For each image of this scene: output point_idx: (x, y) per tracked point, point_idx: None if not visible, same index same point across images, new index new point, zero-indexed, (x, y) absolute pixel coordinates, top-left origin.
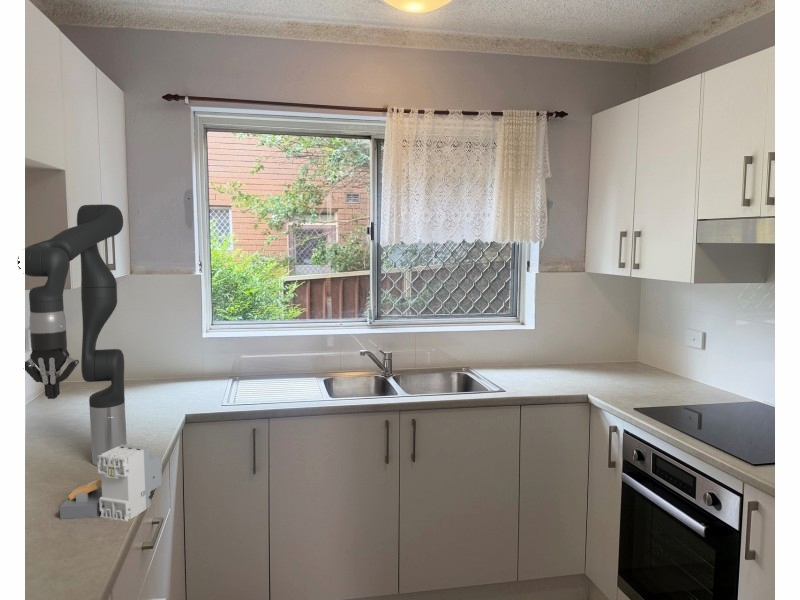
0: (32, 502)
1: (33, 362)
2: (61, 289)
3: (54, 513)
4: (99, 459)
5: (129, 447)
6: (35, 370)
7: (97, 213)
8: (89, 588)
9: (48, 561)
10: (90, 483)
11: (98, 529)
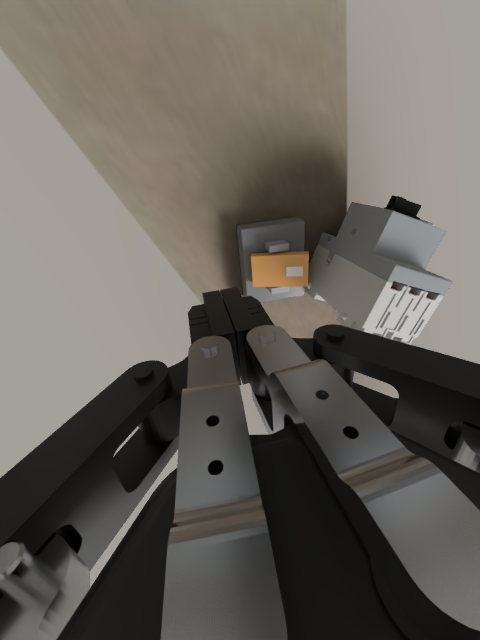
0: (151, 239)
1: (48, 629)
2: None
3: (222, 278)
4: None
5: (413, 285)
6: (108, 493)
7: None
8: None
9: None
10: (290, 270)
11: (310, 318)
